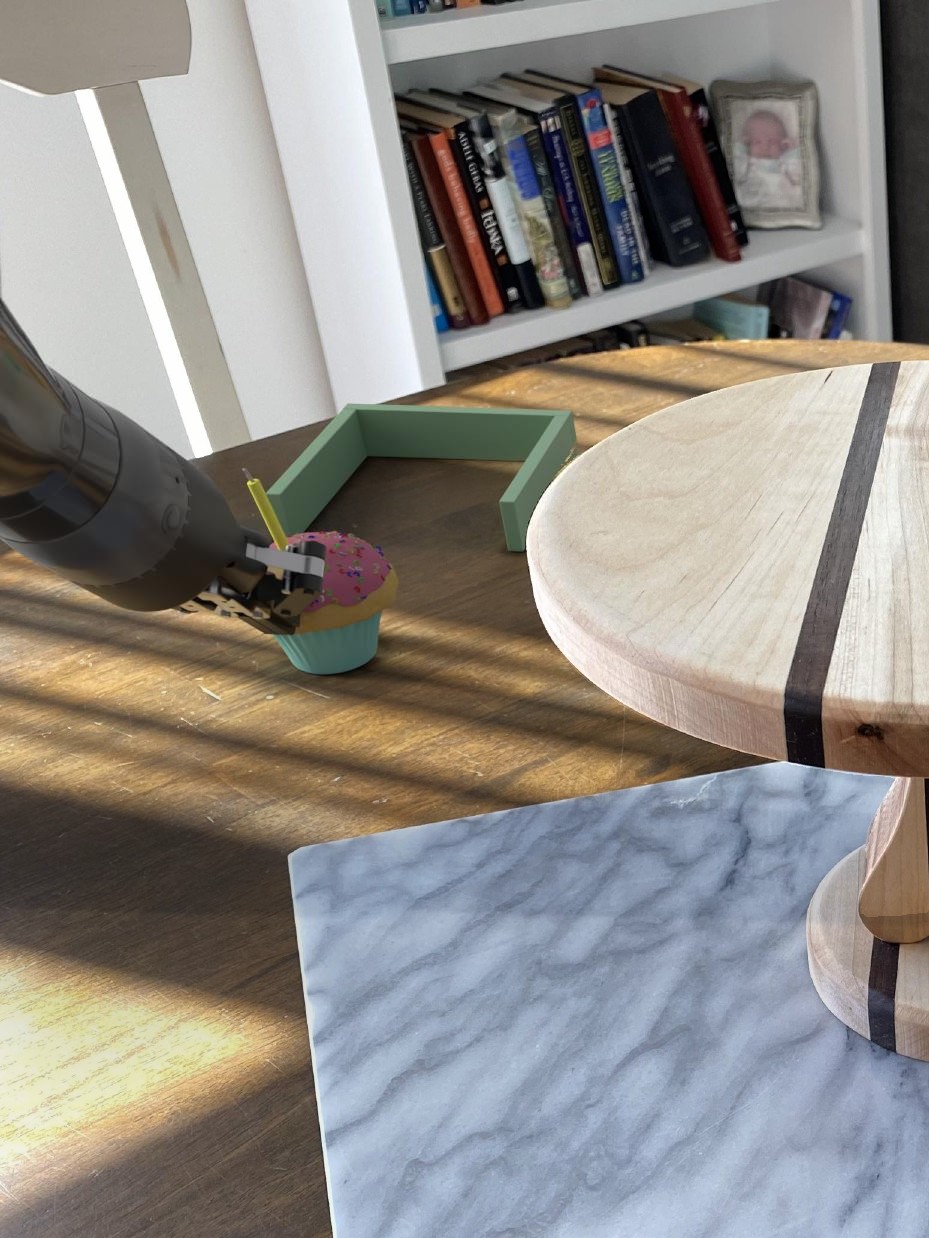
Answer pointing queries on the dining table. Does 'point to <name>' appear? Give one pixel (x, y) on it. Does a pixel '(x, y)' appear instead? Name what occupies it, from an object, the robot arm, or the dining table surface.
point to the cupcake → (335, 598)
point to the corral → (429, 454)
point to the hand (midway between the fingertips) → (283, 617)
